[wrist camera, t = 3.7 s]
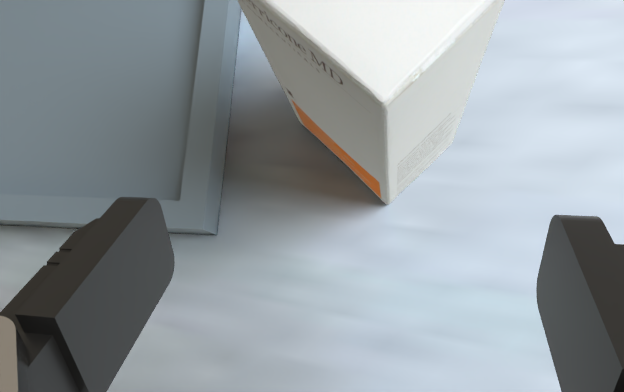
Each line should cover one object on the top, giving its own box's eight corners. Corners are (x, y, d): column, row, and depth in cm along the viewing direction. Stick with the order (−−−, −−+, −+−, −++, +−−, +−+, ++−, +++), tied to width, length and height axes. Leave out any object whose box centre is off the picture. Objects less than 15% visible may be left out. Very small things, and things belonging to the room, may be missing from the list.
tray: (-146, 217, 27) (-183, 211, 25) (-77, -49, 30) (-106, -71, 29) (217, 235, 24) (202, 229, 22) (249, -67, 27) (239, -93, 25)
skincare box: (296, 123, 24) (206, -47, 13) (360, 61, 24) (329, -162, 13) (388, 212, 23) (382, 110, 11) (457, 145, 23) (520, -25, 11)
